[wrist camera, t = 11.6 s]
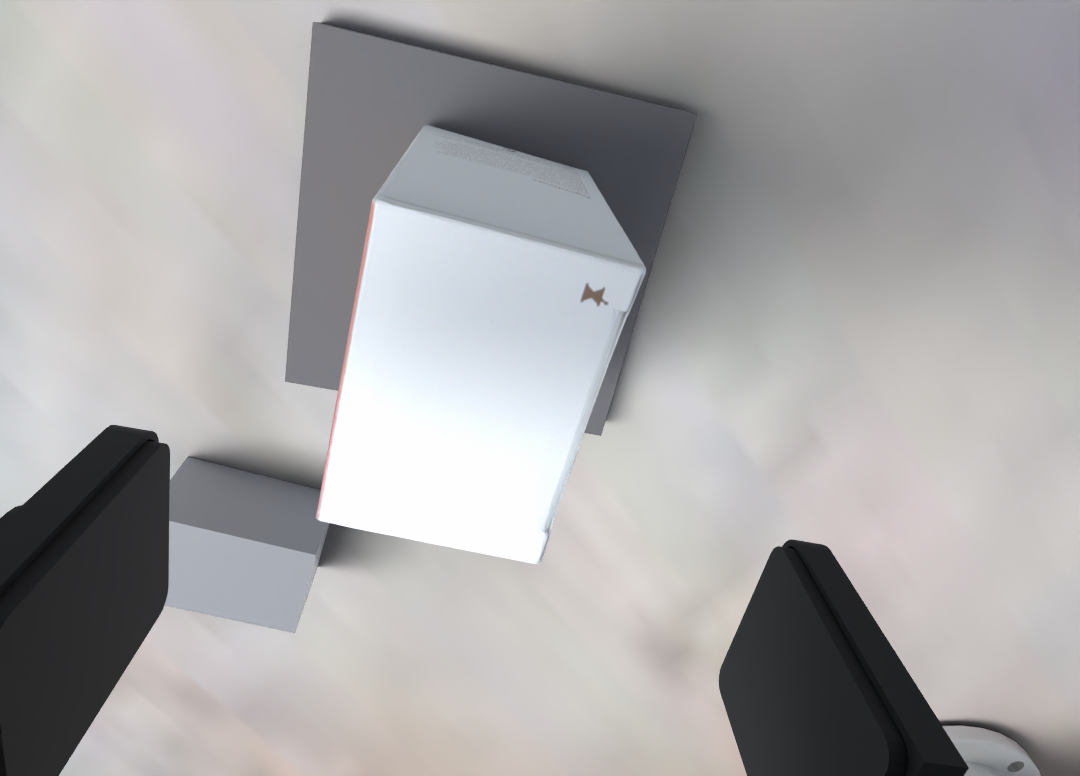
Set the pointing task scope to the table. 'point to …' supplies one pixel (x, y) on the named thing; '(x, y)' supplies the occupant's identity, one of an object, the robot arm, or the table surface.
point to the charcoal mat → (471, 110)
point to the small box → (475, 347)
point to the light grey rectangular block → (242, 544)
